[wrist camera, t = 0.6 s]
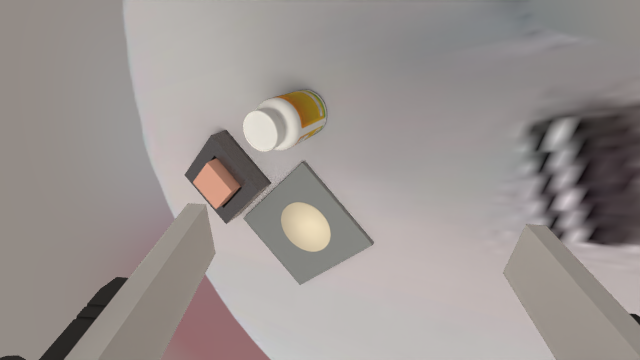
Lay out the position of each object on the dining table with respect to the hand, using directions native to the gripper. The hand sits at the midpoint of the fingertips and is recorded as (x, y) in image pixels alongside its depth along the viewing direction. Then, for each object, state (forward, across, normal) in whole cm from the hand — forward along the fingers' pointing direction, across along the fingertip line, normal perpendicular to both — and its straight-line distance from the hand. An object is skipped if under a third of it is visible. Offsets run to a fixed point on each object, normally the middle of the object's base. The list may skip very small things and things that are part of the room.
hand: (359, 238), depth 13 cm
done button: (+27, -17, -14) cm, 35 cm away
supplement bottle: (+25, -5, -2) cm, 26 cm away
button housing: (+29, -16, -14) cm, 36 cm away
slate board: (+24, -5, -19) cm, 31 cm away
